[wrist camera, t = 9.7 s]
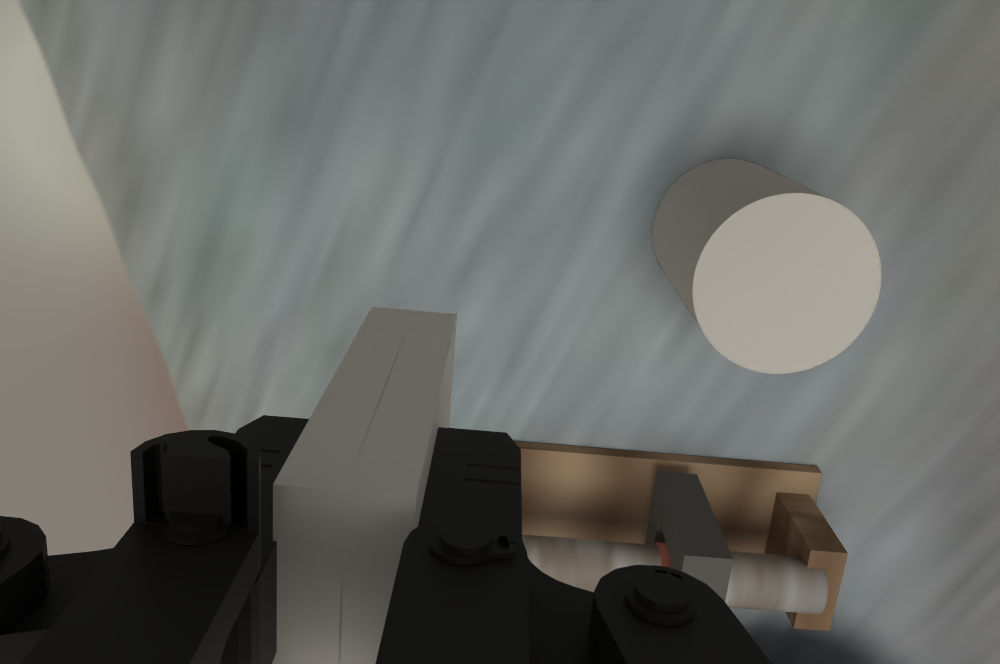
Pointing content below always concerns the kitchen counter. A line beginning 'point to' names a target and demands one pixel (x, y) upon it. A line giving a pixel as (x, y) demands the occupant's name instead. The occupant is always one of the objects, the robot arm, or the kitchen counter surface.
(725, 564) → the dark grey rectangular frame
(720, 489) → the pipe stand
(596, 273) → the kitchen counter surface
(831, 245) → the light grey cylinder
